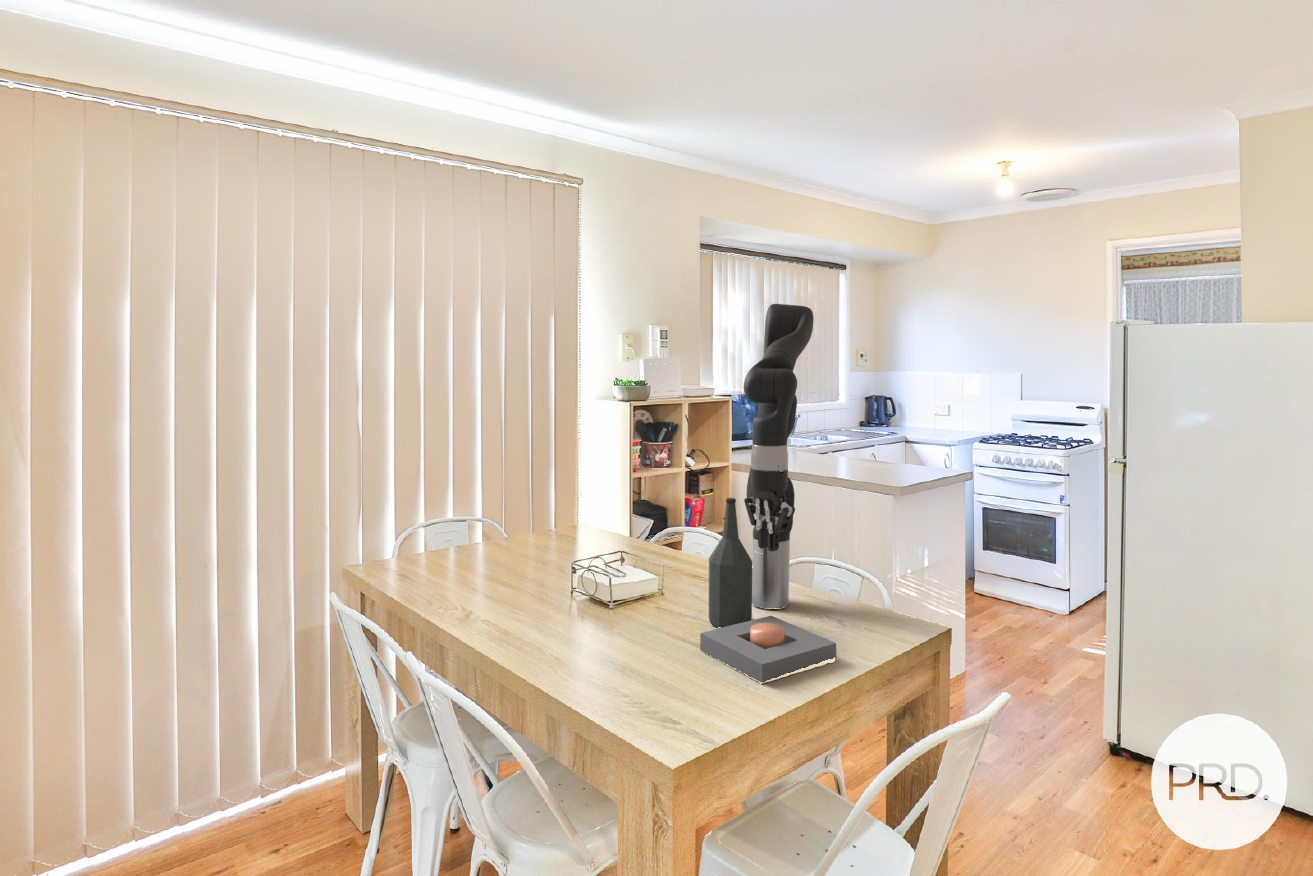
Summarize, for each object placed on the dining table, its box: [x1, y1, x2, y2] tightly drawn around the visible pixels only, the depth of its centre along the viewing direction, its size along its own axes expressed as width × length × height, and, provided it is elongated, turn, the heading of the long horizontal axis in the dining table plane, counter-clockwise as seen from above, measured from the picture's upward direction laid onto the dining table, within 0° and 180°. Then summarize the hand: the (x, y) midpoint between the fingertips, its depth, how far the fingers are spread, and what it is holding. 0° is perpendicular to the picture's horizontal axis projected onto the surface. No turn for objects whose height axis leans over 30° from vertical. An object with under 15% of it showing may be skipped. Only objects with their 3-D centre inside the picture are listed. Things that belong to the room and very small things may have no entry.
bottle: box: [708, 497, 753, 628], centre depth 177 cm, size 10×10×30 cm
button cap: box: [750, 623, 784, 649], centre depth 158 cm, size 7×7×4 cm
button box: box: [699, 615, 837, 682], centre depth 159 cm, size 20×20×4 cm
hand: (768, 548), depth 156 cm, fingers open, 2 cm apart
